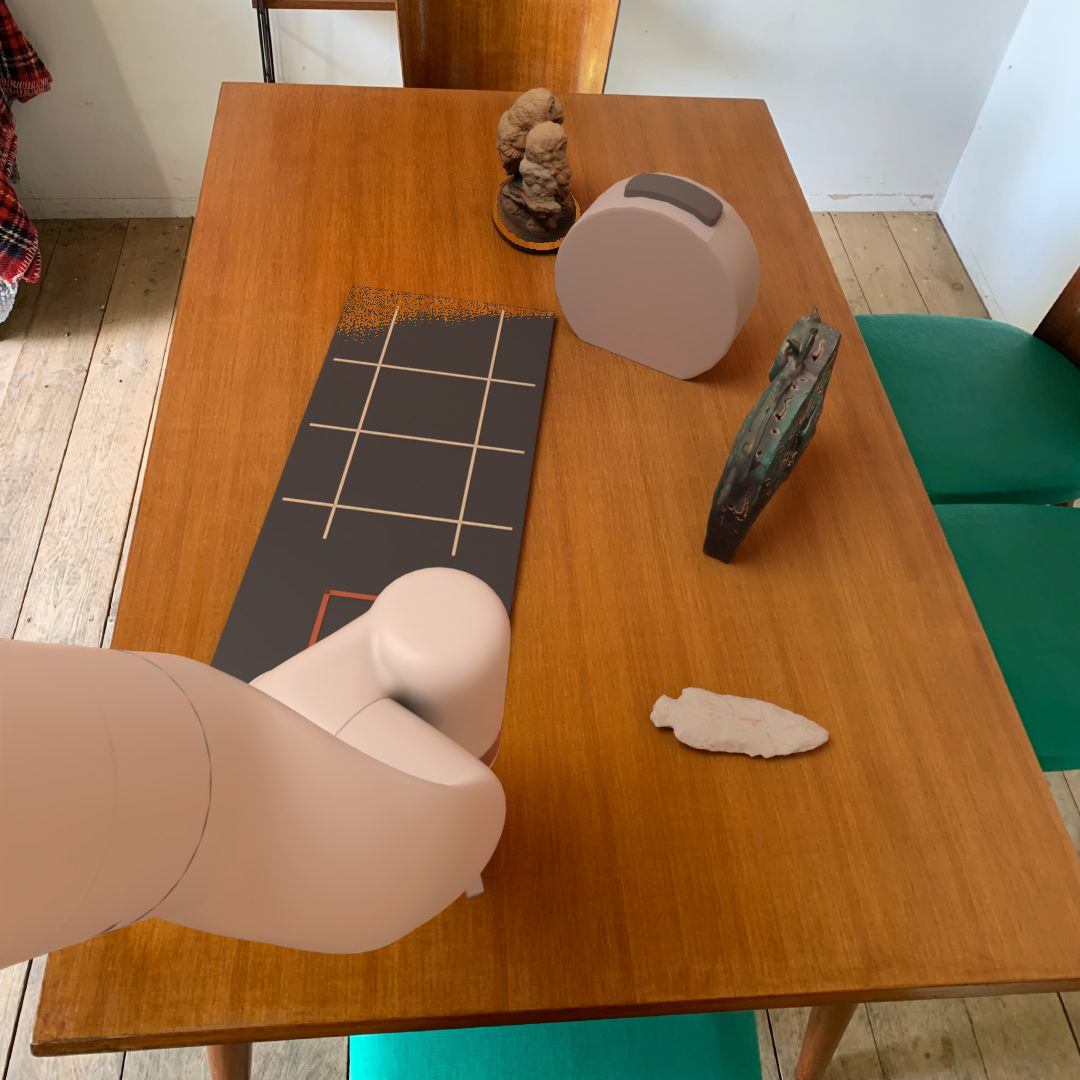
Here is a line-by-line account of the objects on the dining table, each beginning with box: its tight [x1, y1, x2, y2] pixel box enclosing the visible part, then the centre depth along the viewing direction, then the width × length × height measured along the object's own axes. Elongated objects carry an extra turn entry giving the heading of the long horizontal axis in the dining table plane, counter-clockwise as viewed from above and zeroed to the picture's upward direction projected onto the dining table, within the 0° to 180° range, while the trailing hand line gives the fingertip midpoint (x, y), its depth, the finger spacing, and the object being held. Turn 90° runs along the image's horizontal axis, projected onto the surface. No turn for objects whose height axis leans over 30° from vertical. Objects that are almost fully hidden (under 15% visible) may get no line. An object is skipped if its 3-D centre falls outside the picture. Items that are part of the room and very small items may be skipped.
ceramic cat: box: [702, 304, 842, 564], centre depth 85 cm, size 20×6×20 cm, turn 152°
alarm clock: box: [554, 172, 762, 380], centre depth 99 cm, size 21×8×20 cm, turn 63°
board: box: [209, 284, 556, 684], centre depth 91 cm, size 56×24×1 cm, turn 174°
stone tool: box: [649, 686, 830, 759], centre depth 77 cm, size 6×2×15 cm
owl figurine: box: [490, 87, 576, 253], centre depth 113 cm, size 18×12×17 cm, turn 7°
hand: (441, 831), depth 70 cm, fingers closed on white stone, 5 cm apart
